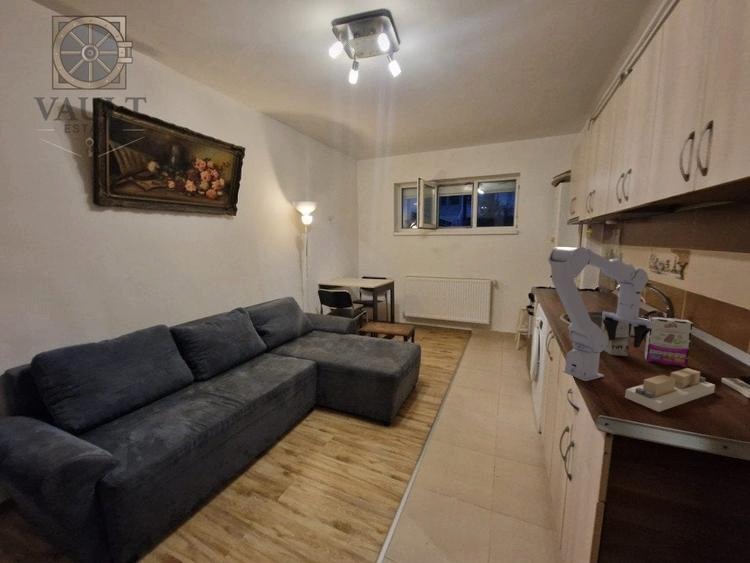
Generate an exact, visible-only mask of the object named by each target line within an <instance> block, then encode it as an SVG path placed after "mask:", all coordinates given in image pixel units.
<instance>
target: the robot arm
mask: <svg viewBox="0 0 750 563" xmlns="http://www.w3.org/2000/svg"><path fill="white" fill-rule="evenodd" d="M547 261H548V263H549V265H550V268H551V272H550V273H551V281H552V284H553V287H554V288H555V291H556V292H557V295H558V297H559V300H560V301H561V304H562V305H563V307H564V310H565V313H566V314H567V317H568V319H569V322H570V324H569V325H568V327H567V329H568V331H569V334H568V335H569V339H570V341H571V342H572V346H573V348H572V349H571V350H569V351H568V352H567V353H566V356H565V364H564V365H565V366H564V369H563V370H561V372H563V373H564V374H567V375H570V376H571V377H574V378H577V379H579V380H580V381H583V382H588V381H592V380H595V379H599V378H604V377H605V375H604V374H602V373H599V365H600V356H601V353H602V352H603V351H604V349H605V348H606V347H607V344H608V337H609V340H615V335H616V329H617V325H618V323H619V321H622V322H626V323H630V324H632V325H635V326H633V331H634V332H633V333H634V340H633V347H634V348H637V349H638V348H640V347H641V344H642V342H643V340H644V339H645V337H647V333H648V332H649V331H650V330H651V329H652V328H654V323H655V322H652V321H649V319H644V318H640V317H639V315H640V307H641V300H642V292H644V290H645V286H646V285H647V284H648V281H649V280H650V279H649V278H650V277H649V275H648V272H646V271H645V269H643V268H635V267H634V265H633V264H631V263H626V262H623V260H622V259H621V258H610V259H607V258H605V257H604V256H601V255H599V254H598V253H596V252H594V251H592V249H589V248H586V247H584V246H578V247H575V246H573V247H572V246H562V245H560V246H559V245H558V246H556V247H554V248H552V250H551V252H550V254H549V257H548V259H547ZM587 265H589V266H592V267H595V268H598V269H600V270H601V272H602V274H603V275H604V276H606V277H608V278H611V279H613V280H615V281H616V282H617V283H618V284H619V290H618V296H617V298H618V299H617V308H616V311H617V314H616V313H609V312H603V311H602V314H601V318H605V320H603V323H604V325H605V327H606V329H607V333H608V337H607V336H606V334H604V333H603V332H602V331H601V326H600V327H599V325H597V324H596V323H595V322H594V321H592V319H591V316H590V314H589V312H588V310H587V308H586V305H585V303H584V301H583V298H582V296H581V294H580V292H579V290H578V287H577V285H576V283H575V279H576V278H578V277H579V275H580V274H581V273H582V271H583V270H584V269H585V268H586V267H587Z"/></svg>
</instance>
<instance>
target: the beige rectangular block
mask: <svg viewBox="0 0 750 563" xmlns="http://www.w3.org/2000/svg"><path fill="white" fill-rule="evenodd" d="M700 376H701V371H698V370H695V369H692V368H688V367H685V368H682V369H679V370H676V371H672V372H670V375H669V377H672V378H675V379H676V380H675V387H677V388H679V389H685V388H688V387H691V386H694V385H698V384H699V378H700Z"/></svg>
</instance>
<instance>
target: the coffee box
mask: <svg viewBox="0 0 750 563" xmlns="http://www.w3.org/2000/svg"><path fill="white" fill-rule="evenodd" d="M603 312H609V313H616V314H617V309H615V310H614V309H613V310H612V309H611V310H609V309H608V310H606V309H603V310H602V313H603ZM601 318H602V317H601ZM603 320H605V318H602V319H601V326H600V328H601V331H602V332H603V333H604V334H606V336H607V337H608V333H607V329H606V327H605V325H604V323H603ZM632 325H633V324H630V323H626V322H622V321H619V323H618V325H617V329H616V335H615V340H609V337H608V344H607V347H606V348H605V349H604V350H603V351H604V352H605V353H607V354H609V355H610V356H622V357H628V355H629V349H630V341H631V333H632Z"/></svg>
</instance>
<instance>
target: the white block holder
mask: <svg viewBox="0 0 750 563" xmlns="http://www.w3.org/2000/svg"><path fill="white" fill-rule="evenodd" d="M675 380H676V379H675V378H672V377H670V375H669V376H668V375H665V374H659V375H656V376H652V377H649V378H645V379H643V384H640V385H635V386H632V387H629V388H626V389H625V392H624V393H625V395H624V398H626V399H627V400H630V401H632V402H635V403H636V404H639V405H642V406H644V407H646V408H649V409H651V410H653V411H656V412H657V413H658V412H662V411H665V410H668V409H670V408H674V407H677V406H679V405H682V404H685V403H688V402H691V401H695V400H697V399H700V398H702V397H706V396H708V395H711V394H714V393H715V388H716V385H715V383H714V384H713V383H710V382H707V381H706V377H705V376H704V377H703V376H701V375H700V378H699V384H698V385H694V386H691V387H688V388H685V389H679V388H677V387H675Z"/></svg>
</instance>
